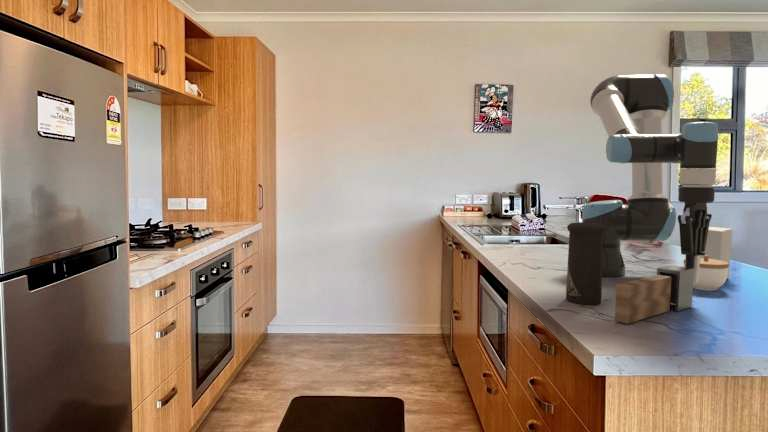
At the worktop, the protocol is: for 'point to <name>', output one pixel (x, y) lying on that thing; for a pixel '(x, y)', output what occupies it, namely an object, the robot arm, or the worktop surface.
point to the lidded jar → (711, 274)
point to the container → (585, 263)
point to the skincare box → (719, 244)
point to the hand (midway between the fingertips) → (691, 280)
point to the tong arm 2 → (645, 299)
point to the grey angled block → (679, 285)
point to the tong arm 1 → (619, 295)
